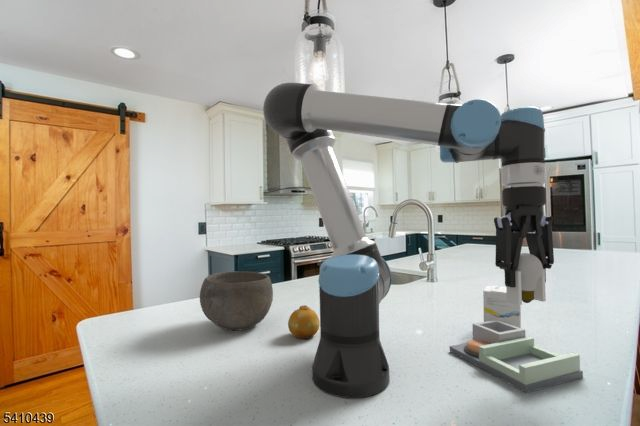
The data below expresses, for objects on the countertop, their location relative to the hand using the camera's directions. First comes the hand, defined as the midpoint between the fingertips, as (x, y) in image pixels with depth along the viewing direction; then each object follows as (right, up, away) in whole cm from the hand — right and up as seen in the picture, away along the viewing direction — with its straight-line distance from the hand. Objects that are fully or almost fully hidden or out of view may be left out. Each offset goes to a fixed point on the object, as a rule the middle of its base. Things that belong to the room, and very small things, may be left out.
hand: (526, 301), depth 65 cm
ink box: (+7, -14, +21) cm, 27 cm away
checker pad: (-6, -13, +7) cm, 15 cm away
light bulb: (0, 0, 0) cm, 0 cm away
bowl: (-66, -16, +30) cm, 74 cm away
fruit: (-46, -15, +22) cm, 53 cm away
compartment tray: (-1, -14, +4) cm, 15 cm away
